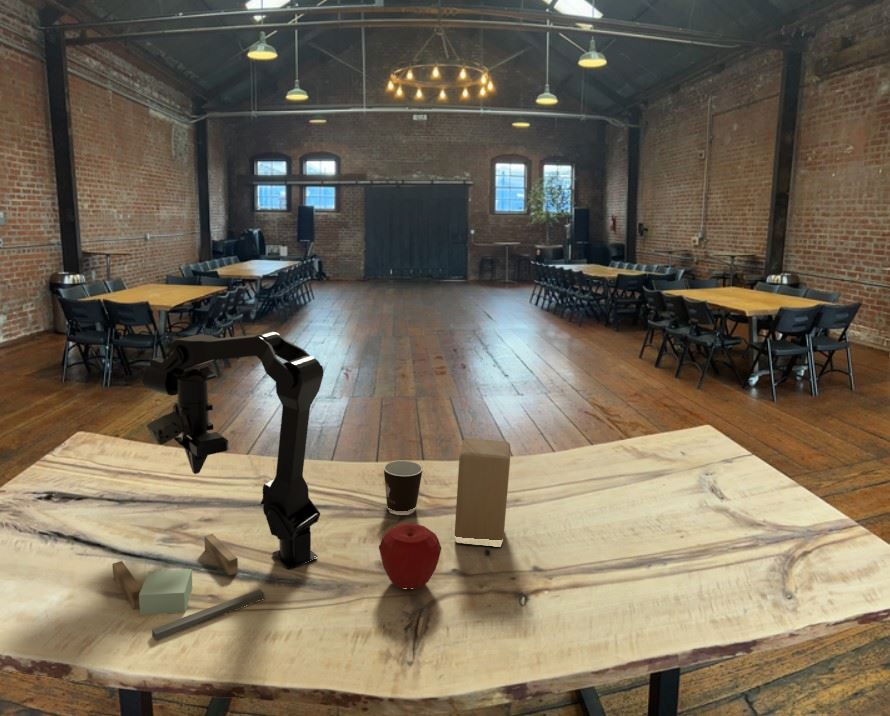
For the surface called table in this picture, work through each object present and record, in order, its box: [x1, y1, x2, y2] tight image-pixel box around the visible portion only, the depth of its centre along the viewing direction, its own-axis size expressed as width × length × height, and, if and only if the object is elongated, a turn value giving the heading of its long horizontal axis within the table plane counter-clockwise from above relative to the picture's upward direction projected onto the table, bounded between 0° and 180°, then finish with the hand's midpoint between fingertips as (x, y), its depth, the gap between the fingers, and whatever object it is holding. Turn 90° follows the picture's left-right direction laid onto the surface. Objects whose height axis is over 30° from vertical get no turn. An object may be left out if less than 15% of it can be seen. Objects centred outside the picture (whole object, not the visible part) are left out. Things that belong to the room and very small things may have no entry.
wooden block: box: [454, 437, 511, 540], centre depth 140 cm, size 10×10×20 cm
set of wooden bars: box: [111, 533, 265, 642], centre depth 118 cm, size 21×18×3 cm
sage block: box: [139, 568, 194, 616], centre depth 114 cm, size 7×7×4 cm
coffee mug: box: [383, 459, 423, 511], centre depth 152 cm, size 12×9×10 cm
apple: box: [378, 522, 442, 589], centre depth 122 cm, size 11×11×12 cm
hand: (196, 473), depth 136 cm, fingers closed
